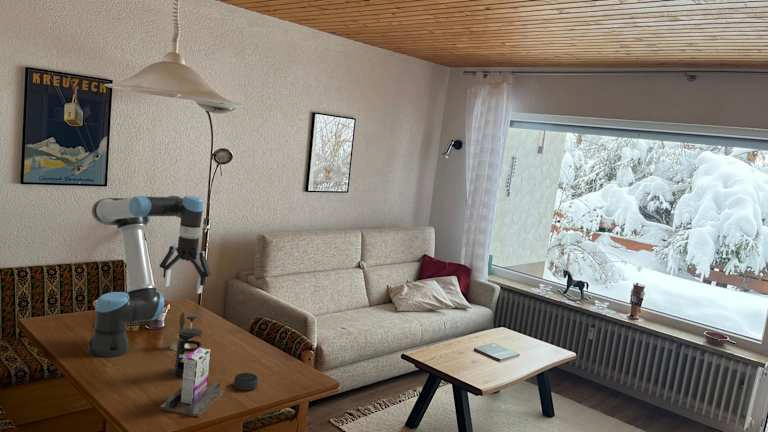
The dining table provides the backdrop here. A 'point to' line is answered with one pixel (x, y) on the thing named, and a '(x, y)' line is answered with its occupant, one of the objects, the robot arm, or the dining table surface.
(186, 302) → the dining table surface
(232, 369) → the dining table surface
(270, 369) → the dining table surface
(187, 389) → the candy bar box
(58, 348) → the dining table surface
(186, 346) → the hand bell
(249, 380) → the smart speaker
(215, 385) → the sliding track
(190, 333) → the french press
